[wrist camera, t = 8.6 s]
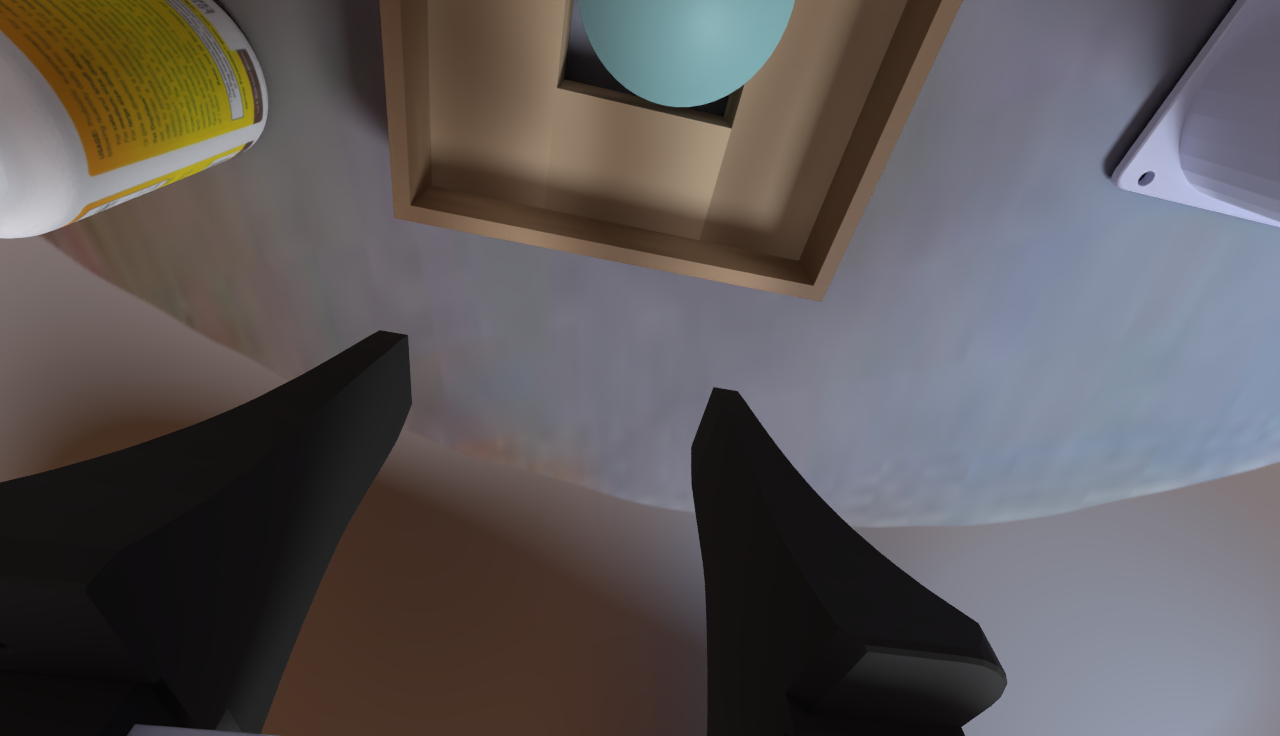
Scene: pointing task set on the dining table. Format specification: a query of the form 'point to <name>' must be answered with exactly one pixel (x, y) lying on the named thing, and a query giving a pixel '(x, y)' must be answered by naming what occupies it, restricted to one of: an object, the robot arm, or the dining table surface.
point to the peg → (684, 44)
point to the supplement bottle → (116, 103)
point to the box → (653, 139)
